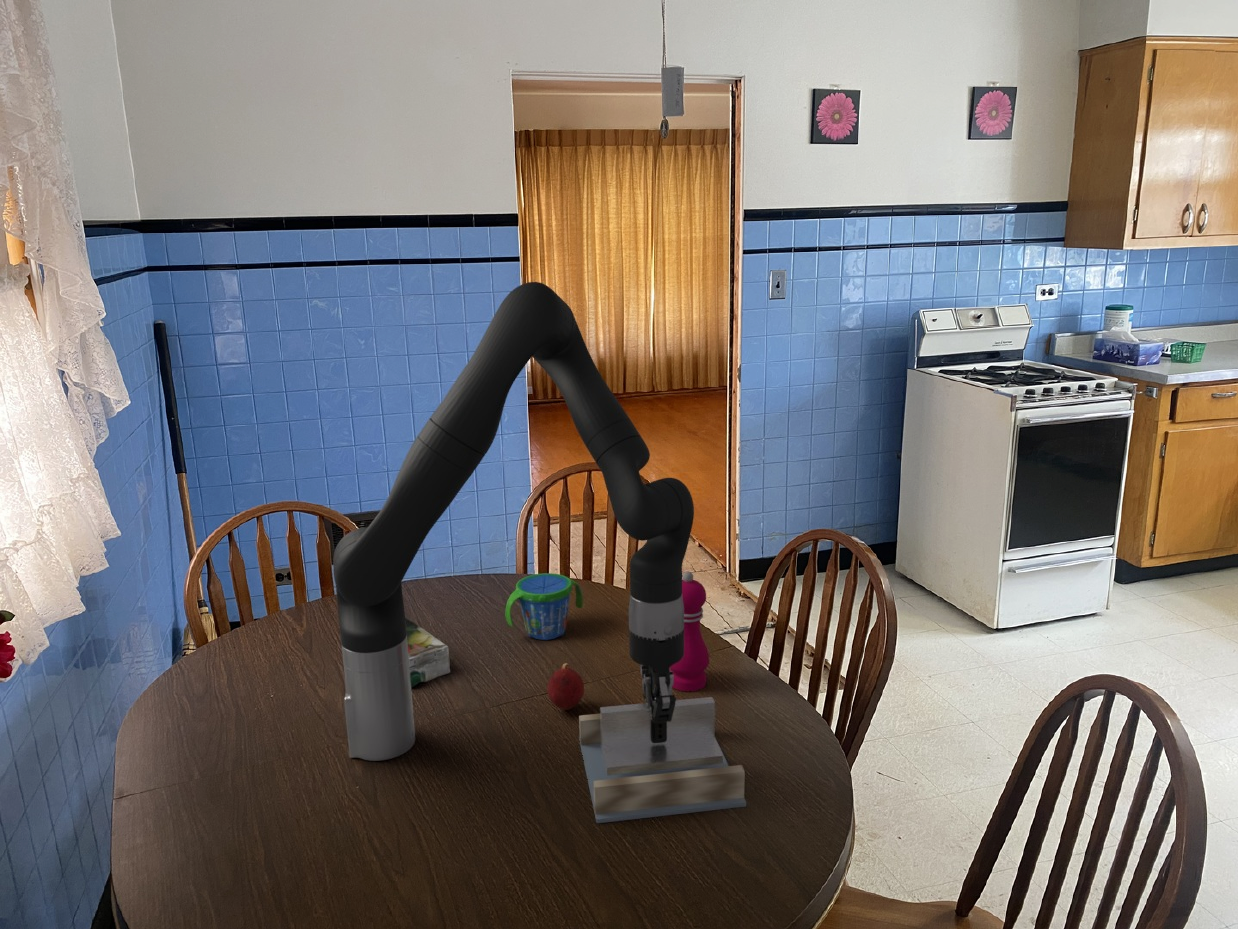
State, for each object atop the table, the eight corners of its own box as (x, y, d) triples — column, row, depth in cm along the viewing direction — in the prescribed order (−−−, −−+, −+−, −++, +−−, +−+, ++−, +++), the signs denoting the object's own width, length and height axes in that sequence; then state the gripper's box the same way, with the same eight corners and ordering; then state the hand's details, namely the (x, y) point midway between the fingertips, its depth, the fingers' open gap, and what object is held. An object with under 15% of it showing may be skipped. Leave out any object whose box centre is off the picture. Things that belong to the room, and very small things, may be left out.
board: (596, 823, 116) (596, 819, 116) (579, 739, 135) (578, 736, 135) (746, 806, 119) (746, 802, 119) (708, 726, 138) (708, 723, 138)
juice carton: (456, 674, 156) (453, 642, 155) (405, 694, 150) (402, 660, 149) (400, 638, 171) (397, 608, 169) (352, 655, 165) (348, 624, 163)
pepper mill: (660, 689, 150) (659, 577, 145) (674, 670, 156) (674, 561, 151) (701, 696, 147) (702, 582, 142) (714, 677, 154) (715, 567, 149)
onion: (579, 721, 140) (578, 674, 138) (543, 717, 142) (542, 671, 140) (588, 702, 146) (587, 657, 144) (554, 699, 147) (552, 654, 145)
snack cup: (516, 652, 164) (513, 600, 161) (498, 630, 173) (495, 581, 170) (594, 635, 170) (593, 585, 167) (573, 614, 179) (571, 567, 177)
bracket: (607, 775, 121) (606, 730, 119) (600, 751, 126) (600, 707, 125) (722, 763, 123) (723, 719, 121) (711, 739, 129) (712, 697, 127)
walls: (595, 814, 117) (594, 787, 116) (579, 739, 134) (579, 715, 133) (744, 798, 120) (744, 771, 119) (709, 726, 137) (710, 703, 136)
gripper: (621, 606, 128) (623, 715, 132) (638, 649, 115) (639, 768, 119) (672, 602, 129) (672, 710, 133) (695, 644, 116) (694, 762, 120)
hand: (657, 737), depth 126 cm, fingers closed on bracket, 1 cm apart
